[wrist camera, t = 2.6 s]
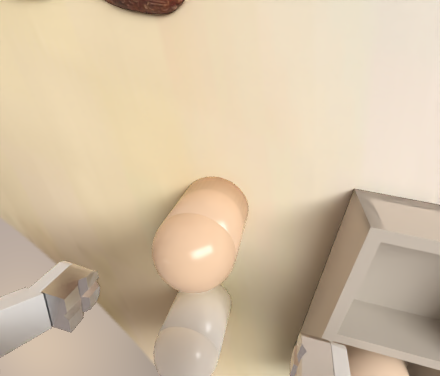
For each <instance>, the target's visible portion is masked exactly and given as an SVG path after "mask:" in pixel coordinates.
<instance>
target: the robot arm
mask: <svg viewBox="0 0 440 376" xmlns="http://www.w3.org/2000/svg"><path fill="white" fill-rule="evenodd" d="M98 278H99V277H98V272H97V271H94V270H91V269H88V268H85V267H83V266H80V265H77V264H74V263H70V262H67V261H61V262H59V263H58V264H56V265H55V266H54V267H53V268H52V269H51V270H49V271H48V272H47V273H46V274H45V275H43V276H42V277H41V278H40V279H39V280H38V281H36V282H35V283H34V284H33V285H32V286H31V287H29V288H22V289H20V290H17V291H14V292H12V293H9V294H7V295H4V296H1V297H0V358H1V357H2V356H4V355H6V354H8V353H9V352H11V351H13V350H14V349H16V348H18V347H20V346H21V345H23V344H25V343H27V342H28V341H30V340H32V339H33V338H35V337H37V336H38V335H40V334H42V333H44V332H45V331H47V330H49V329H51V328H52V327H55V328H58V329H61V330H65V331H68V332H72V331H73V330H74V329H75V328H76V326H77V325H78V324H79V323H80V322H81V320H82V319H83V315H84V312H85V311H88V310H90V309H91V308H92V307H93V306H94V304H95V303H96V301H97V299H98V297H99V294H100V285H99V284H98V283H97V281H96V280H97V279H98ZM290 376H351V374H350V368H349V361H348V355H347V349H346V347H345V345H341V344H338V343H335V342H331V341H329V340H326V339H322V338H319V337H315V336H312V335H308V334H305V333H301V332H300V334H299V336H298V338H297V346H294V349H293V352H292V356H291V362H290Z"/></svg>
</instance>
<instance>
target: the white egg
mask: <svg viewBox="0 0 440 376" xmlns="http://www.w3.org/2000/svg"><path fill="white" fill-rule="evenodd" d="M231 306H232V301H231V297H230V295H229V293H228V292H227V291H226V289H225V288H224V287H222V286H221V285H218V286H217V287H216V288H214V289H212V290H210V291H207V292H203V293H197V294H191V293H184V292H181V291H178V293H177V296H176V298H175V300H174V302H173V304H172V306H171V308H170V310H169V313H168V315H167V317H166V319H165V321H164V323H163V325H162V328H161V330H160V332H159V334H158V336H157V339H156V342H155V346H154V362H155V366H156V369H157V371H158V373H159V375H160V376H211V375H212V374H213V372H214V370H215V368H216V366H217V363H218V360H219V356H220V352H221V347H222V343H223V339H224V335H225V331H226V326H227V322H228V318H229V314H230V310H231Z"/></svg>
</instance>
